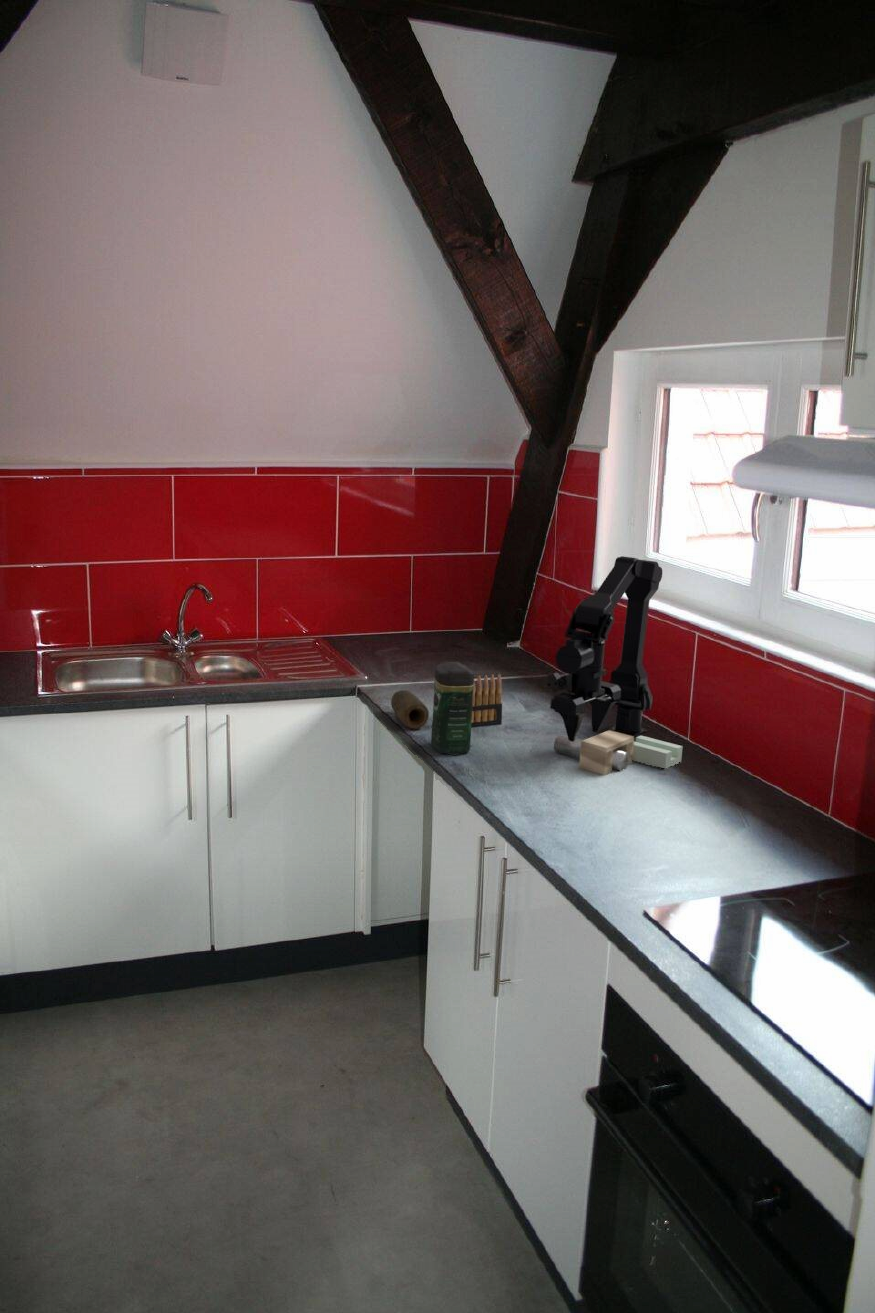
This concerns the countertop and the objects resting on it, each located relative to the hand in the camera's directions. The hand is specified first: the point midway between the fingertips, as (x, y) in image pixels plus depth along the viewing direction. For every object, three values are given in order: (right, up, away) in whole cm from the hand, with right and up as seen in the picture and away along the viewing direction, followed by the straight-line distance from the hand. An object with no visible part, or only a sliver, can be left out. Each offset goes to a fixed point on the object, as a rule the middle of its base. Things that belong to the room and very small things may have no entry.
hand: (583, 736), depth 231 cm
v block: (+15, -5, +2) cm, 16 cm away
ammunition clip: (-21, +1, +21) cm, 30 cm away
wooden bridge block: (+4, -6, -3) cm, 8 cm away
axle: (+1, -5, 0) cm, 5 cm away
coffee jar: (-28, -3, +4) cm, 28 cm away
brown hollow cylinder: (-37, +2, +21) cm, 43 cm away
